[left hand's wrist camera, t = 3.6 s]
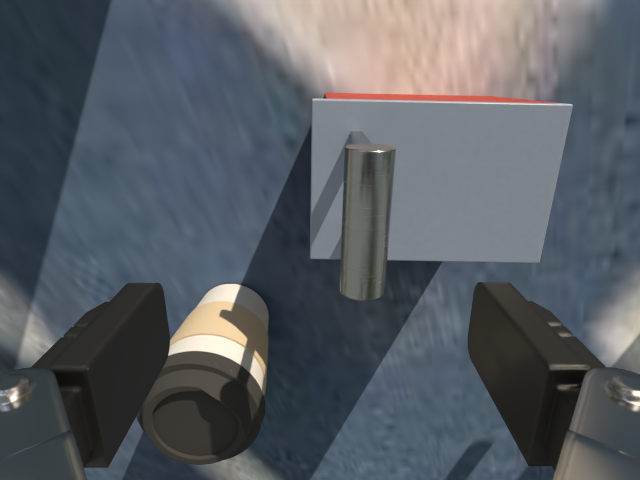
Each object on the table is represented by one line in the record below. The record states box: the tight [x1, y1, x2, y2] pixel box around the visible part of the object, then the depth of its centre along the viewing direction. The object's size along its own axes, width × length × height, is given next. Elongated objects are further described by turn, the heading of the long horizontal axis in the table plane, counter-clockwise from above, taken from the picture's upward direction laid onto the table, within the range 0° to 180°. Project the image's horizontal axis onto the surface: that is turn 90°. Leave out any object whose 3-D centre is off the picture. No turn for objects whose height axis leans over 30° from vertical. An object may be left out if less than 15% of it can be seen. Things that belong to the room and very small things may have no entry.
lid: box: [310, 98, 573, 301], centre depth 22 cm, size 15×10×10 cm, turn 89°
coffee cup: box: [137, 284, 269, 465], centre depth 35 cm, size 9×9×15 cm
